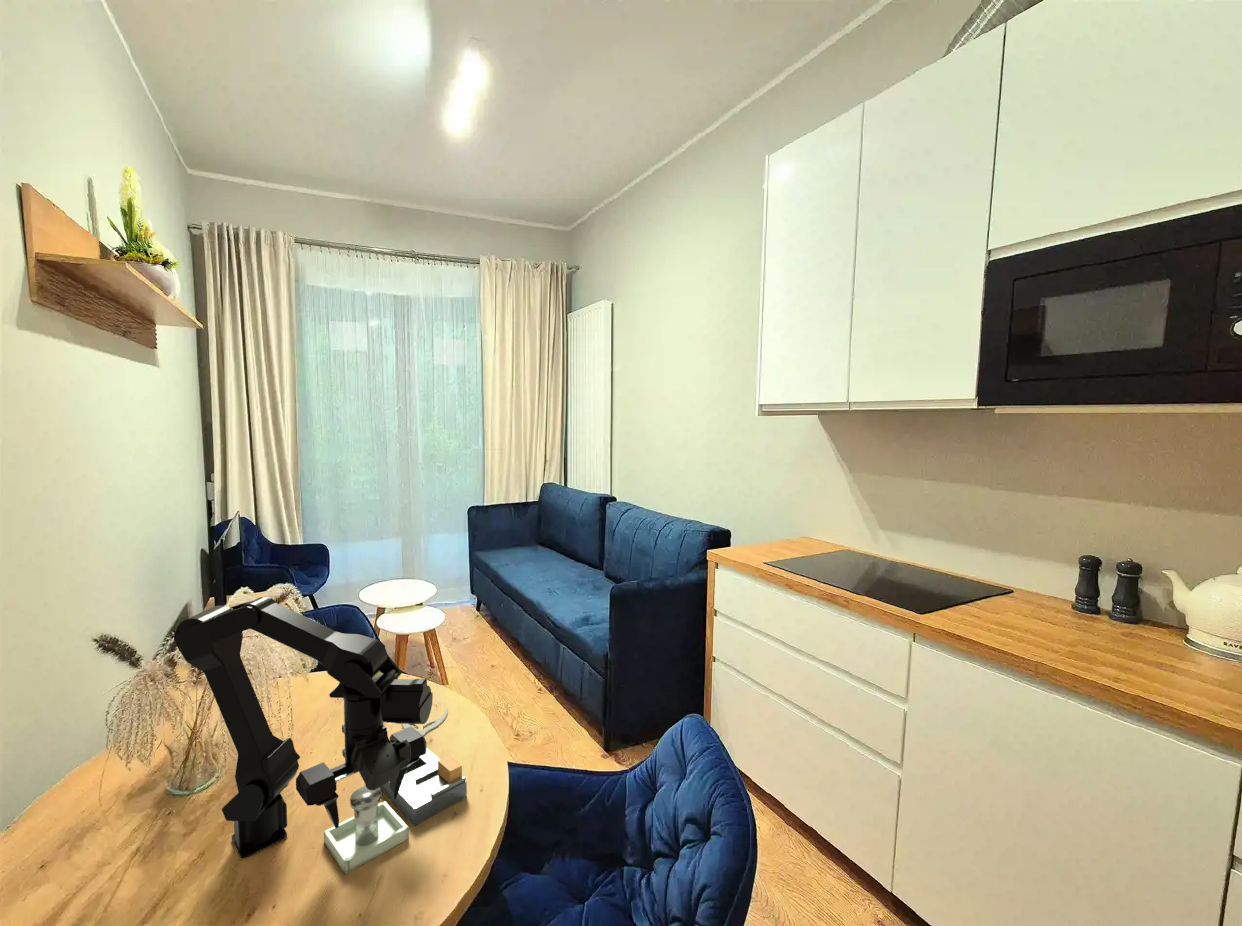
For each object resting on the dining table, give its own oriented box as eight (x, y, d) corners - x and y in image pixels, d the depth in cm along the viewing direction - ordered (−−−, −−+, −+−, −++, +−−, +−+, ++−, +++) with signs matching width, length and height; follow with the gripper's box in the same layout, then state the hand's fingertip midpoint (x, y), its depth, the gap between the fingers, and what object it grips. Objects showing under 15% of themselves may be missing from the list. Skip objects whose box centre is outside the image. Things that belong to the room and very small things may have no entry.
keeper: (450, 784, 100) (450, 771, 100) (438, 773, 103) (437, 760, 103) (462, 778, 101) (461, 765, 101) (449, 767, 104) (449, 755, 104)
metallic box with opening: (414, 825, 94) (414, 805, 93) (371, 779, 106) (371, 760, 105) (466, 797, 101) (466, 778, 101) (420, 756, 113) (420, 739, 113)
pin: (358, 853, 87) (356, 808, 86) (346, 838, 90) (345, 794, 89) (387, 837, 90) (385, 794, 90) (375, 823, 93) (374, 781, 93)
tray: (345, 874, 84) (345, 862, 83) (324, 842, 90) (323, 831, 90) (408, 838, 91) (408, 827, 91) (385, 811, 97) (384, 800, 97)
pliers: (448, 705, 131) (435, 742, 116) (448, 711, 131) (435, 749, 116) (405, 707, 129) (386, 744, 115) (405, 713, 130) (387, 752, 115)
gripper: (319, 769, 76) (322, 874, 78) (442, 717, 90) (443, 807, 91) (293, 736, 84) (296, 832, 85) (410, 693, 98) (411, 777, 99)
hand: (365, 811), depth 90 cm, fingers open, 9 cm apart
